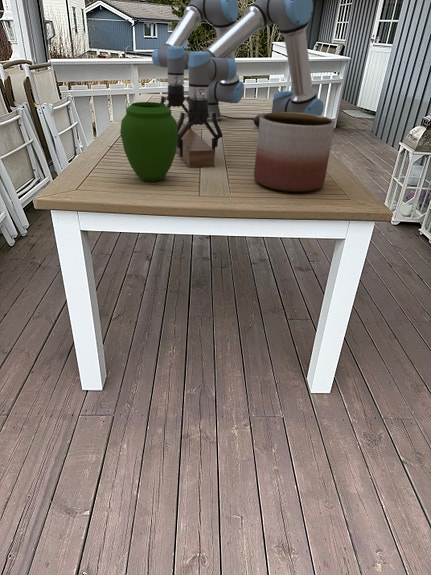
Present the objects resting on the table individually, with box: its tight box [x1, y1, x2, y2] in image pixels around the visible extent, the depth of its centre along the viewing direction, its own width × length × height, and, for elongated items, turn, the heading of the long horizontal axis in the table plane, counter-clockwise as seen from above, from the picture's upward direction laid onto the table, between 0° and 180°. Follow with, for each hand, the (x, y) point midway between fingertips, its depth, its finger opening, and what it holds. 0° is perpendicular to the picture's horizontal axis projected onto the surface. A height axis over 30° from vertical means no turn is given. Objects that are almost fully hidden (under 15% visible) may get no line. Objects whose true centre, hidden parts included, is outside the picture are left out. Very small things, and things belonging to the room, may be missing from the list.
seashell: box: [252, 112, 266, 128], centre depth 231 cm, size 10×6×8 cm, turn 97°
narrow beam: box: [176, 121, 216, 168], centre depth 183 cm, size 57×10×6 cm, turn 16°
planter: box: [253, 111, 336, 193], centre depth 143 cm, size 25×25×22 cm
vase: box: [119, 101, 179, 182], centre depth 140 cm, size 20×20×24 cm
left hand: (176, 133), depth 200 cm, fingers open, 13 cm apart
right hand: (197, 155), depth 166 cm, fingers open, 13 cm apart
